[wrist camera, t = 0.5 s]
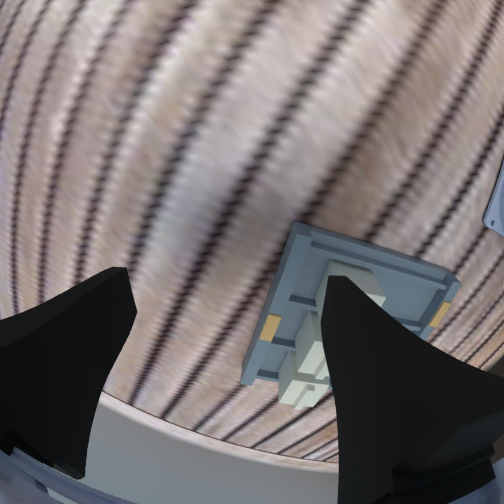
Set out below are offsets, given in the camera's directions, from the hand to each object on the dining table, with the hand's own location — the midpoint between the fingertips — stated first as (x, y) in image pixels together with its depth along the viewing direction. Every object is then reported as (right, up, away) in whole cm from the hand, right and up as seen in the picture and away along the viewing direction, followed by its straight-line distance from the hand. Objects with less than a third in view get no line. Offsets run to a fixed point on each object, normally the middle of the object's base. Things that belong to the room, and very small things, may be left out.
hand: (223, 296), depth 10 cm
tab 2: (+5, -8, +13) cm, 16 cm away
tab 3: (+7, -1, +9) cm, 12 cm away
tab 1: (+6, -4, +11) cm, 13 cm away
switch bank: (+9, -4, +12) cm, 16 cm away
